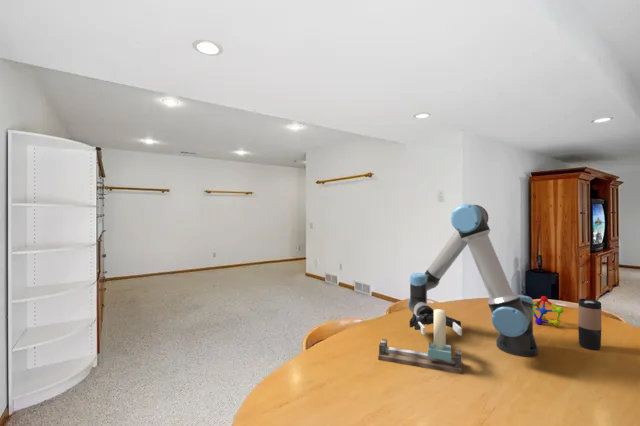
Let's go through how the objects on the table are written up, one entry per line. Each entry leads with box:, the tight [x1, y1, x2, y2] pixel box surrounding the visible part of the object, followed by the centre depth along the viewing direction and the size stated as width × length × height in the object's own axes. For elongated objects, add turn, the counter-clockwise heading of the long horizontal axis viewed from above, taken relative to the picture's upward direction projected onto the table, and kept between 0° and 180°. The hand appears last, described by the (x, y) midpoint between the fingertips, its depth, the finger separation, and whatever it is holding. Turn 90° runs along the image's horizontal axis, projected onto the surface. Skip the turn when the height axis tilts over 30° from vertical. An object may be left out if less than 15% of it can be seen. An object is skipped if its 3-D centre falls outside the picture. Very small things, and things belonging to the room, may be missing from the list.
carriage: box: [427, 308, 452, 361], centre depth 120 cm, size 8×7×17 cm
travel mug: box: [577, 298, 602, 352], centre depth 136 cm, size 8×8×20 cm
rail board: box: [377, 338, 463, 375], centre depth 123 cm, size 30×10×5 cm, turn 69°
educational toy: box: [533, 295, 564, 327], centre depth 164 cm, size 16×13×15 cm
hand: (442, 331), depth 118 cm, fingers open, 13 cm apart
